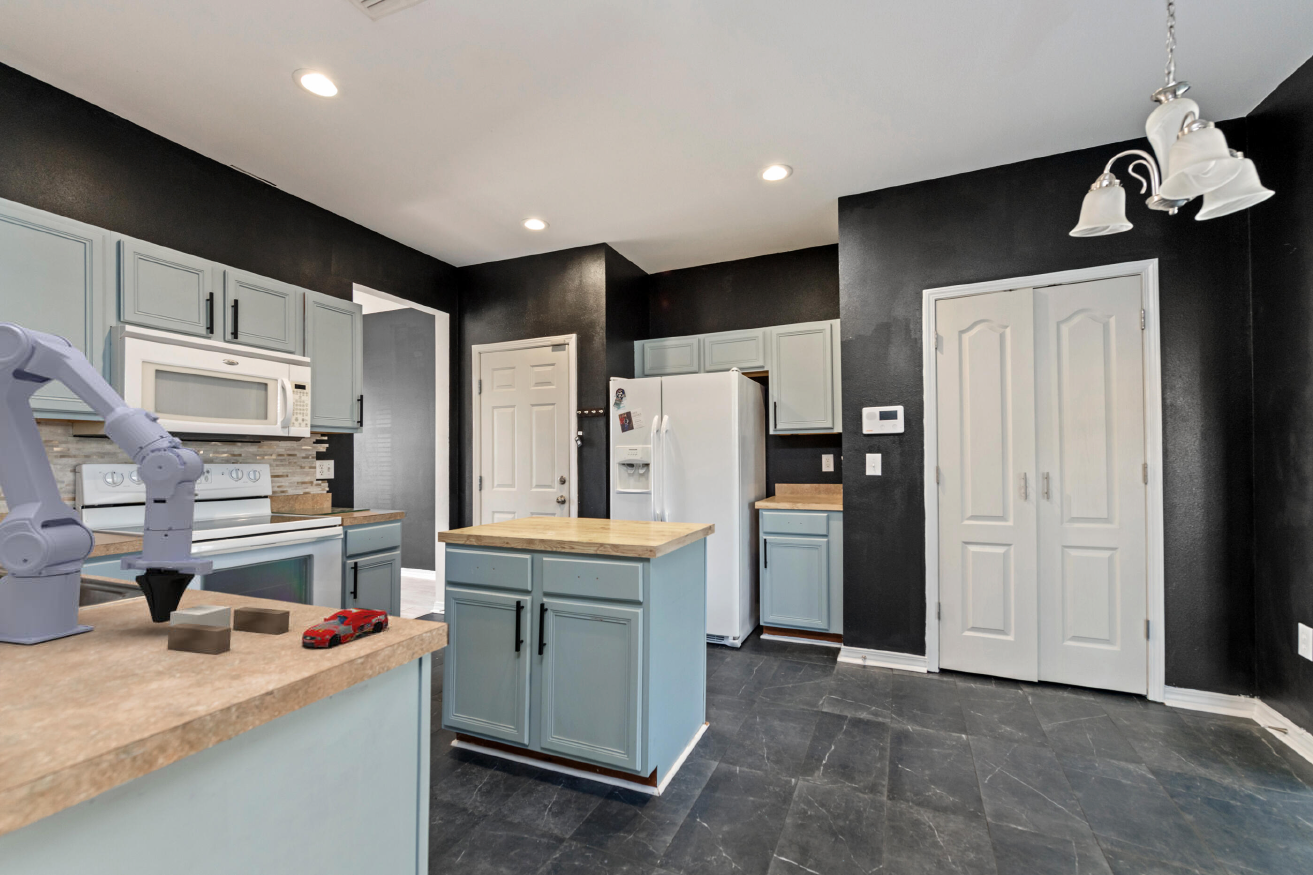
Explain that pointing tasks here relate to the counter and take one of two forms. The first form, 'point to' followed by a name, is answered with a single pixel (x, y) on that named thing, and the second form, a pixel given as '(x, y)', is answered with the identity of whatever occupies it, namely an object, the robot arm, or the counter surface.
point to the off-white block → (202, 616)
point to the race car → (345, 627)
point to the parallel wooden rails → (226, 630)
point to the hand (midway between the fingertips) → (163, 621)
